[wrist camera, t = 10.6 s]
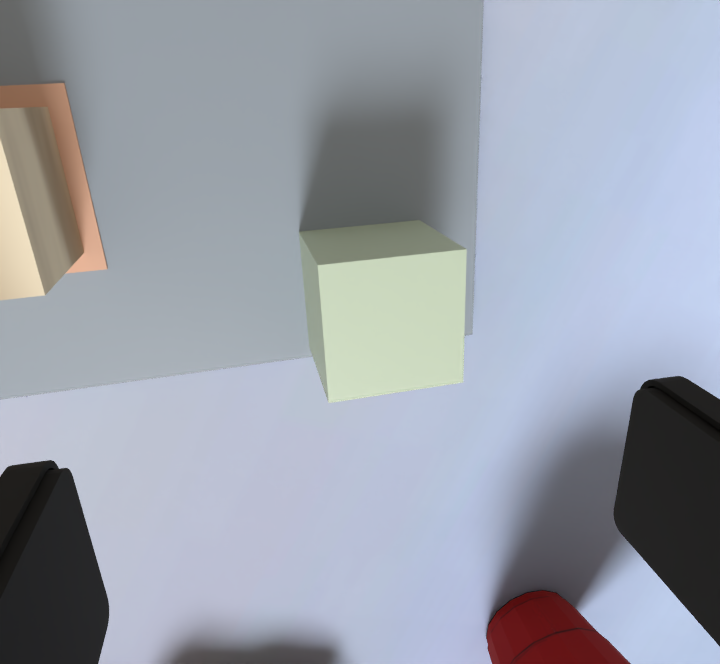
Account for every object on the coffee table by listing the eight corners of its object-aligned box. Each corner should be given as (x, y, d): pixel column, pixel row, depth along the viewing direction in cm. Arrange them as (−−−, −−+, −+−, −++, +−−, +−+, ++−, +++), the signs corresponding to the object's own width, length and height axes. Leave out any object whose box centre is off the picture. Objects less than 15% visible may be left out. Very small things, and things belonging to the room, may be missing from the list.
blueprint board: (476, -49, 21) (486, -55, 20) (465, 328, 26) (473, 335, 26) (-303, -45, 16) (-331, -53, 15) (-109, 405, 22) (-121, 417, 21)
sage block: (419, 219, 23) (467, 249, 19) (420, 331, 25) (463, 382, 21) (298, 231, 22) (317, 265, 18) (309, 346, 24) (328, 403, 20)
